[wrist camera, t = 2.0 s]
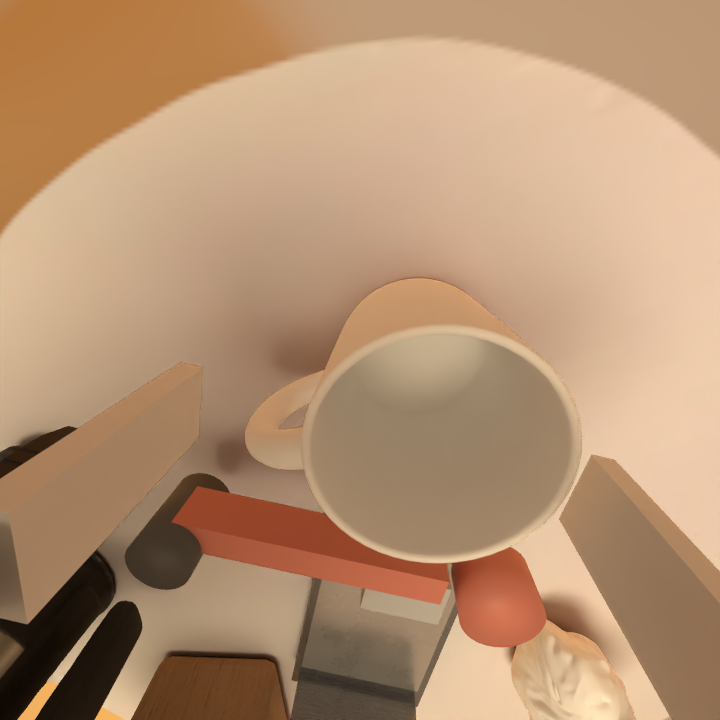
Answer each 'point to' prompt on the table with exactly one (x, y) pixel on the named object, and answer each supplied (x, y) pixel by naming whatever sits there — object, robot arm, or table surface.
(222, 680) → the wooden block
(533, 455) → the mug
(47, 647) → the milk frother
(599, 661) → the bust
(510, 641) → the lever
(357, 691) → the metal tray
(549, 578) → the table surface
